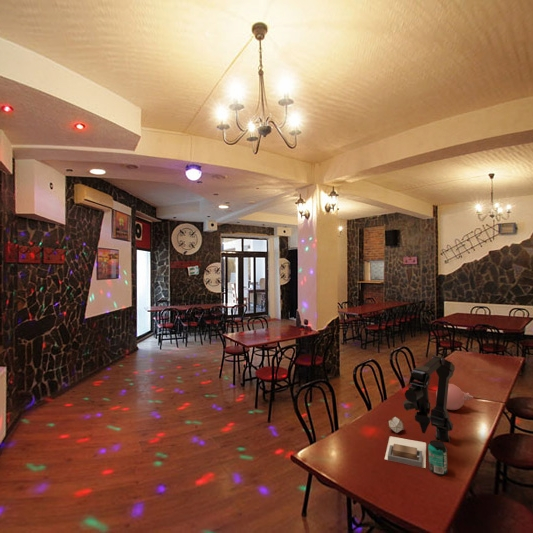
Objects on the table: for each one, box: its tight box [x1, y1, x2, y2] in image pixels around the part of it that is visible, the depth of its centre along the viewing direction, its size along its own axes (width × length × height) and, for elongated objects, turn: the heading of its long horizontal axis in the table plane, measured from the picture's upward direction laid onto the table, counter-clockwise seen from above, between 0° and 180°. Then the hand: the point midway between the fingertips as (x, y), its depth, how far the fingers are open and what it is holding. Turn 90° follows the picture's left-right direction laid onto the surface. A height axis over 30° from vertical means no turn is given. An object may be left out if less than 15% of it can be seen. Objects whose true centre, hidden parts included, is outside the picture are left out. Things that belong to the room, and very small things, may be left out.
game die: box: [387, 415, 406, 434], centre depth 176 cm, size 9×8×10 cm
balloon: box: [435, 383, 474, 411], centre depth 202 cm, size 15×20×15 cm
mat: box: [384, 435, 427, 469], centre depth 157 cm, size 23×17×3 cm
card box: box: [393, 444, 417, 460], centre depth 151 cm, size 10×6×4 cm, turn 63°
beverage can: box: [427, 439, 449, 477], centre depth 141 cm, size 7×7×12 cm
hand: (423, 428), depth 156 cm, fingers open, 9 cm apart
